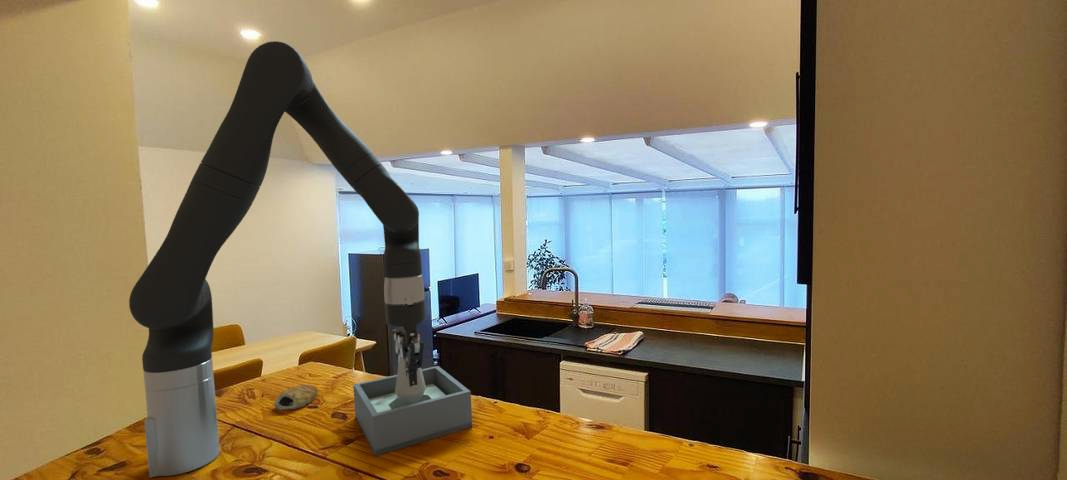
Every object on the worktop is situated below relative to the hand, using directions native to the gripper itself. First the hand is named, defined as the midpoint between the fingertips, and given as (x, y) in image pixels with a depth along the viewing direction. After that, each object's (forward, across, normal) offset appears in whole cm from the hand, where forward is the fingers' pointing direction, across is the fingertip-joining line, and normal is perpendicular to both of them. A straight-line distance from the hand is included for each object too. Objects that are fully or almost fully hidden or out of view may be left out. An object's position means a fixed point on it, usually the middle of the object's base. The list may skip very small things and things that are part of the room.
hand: (409, 384), depth 89 cm
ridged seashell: (+8, -25, -18) cm, 32 cm away
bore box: (+8, 0, 0) cm, 8 cm away
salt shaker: (+3, 0, 0) cm, 3 cm away
